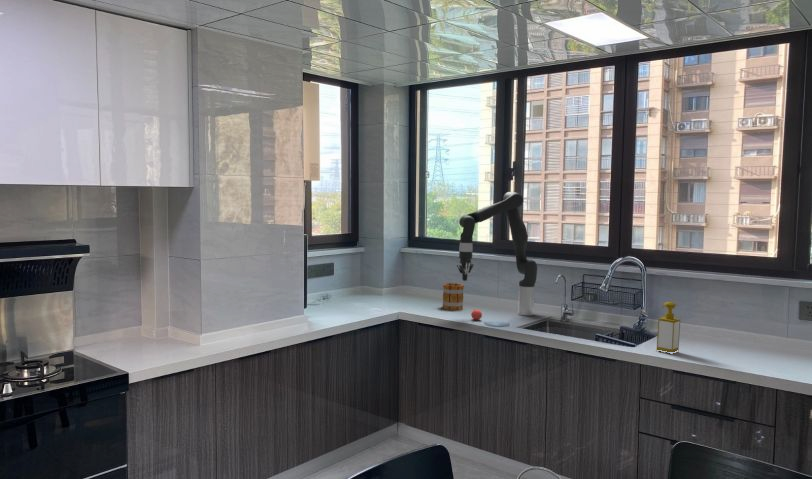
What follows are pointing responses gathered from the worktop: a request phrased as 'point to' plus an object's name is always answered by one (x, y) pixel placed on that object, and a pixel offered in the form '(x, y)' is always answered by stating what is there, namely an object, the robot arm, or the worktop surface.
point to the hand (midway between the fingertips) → (464, 280)
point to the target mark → (496, 323)
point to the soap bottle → (668, 330)
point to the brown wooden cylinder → (452, 296)
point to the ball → (476, 314)
